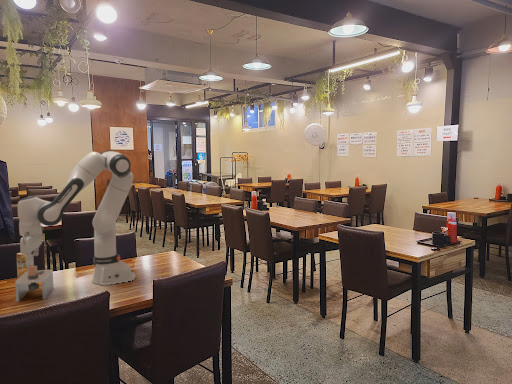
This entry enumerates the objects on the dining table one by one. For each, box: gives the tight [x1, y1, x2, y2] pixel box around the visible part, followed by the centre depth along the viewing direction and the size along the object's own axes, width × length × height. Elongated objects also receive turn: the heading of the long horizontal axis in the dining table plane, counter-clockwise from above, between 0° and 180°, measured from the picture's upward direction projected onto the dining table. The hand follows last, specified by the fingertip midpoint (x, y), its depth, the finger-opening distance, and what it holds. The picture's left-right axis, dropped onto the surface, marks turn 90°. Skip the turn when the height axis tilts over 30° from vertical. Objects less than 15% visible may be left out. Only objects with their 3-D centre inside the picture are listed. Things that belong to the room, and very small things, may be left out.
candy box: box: [16, 252, 35, 279], centre depth 193 cm, size 9×4×15 cm, turn 66°
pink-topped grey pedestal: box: [28, 265, 40, 291], centre depth 172 cm, size 4×4×11 cm
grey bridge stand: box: [14, 269, 54, 303], centre depth 174 cm, size 12×15×10 cm
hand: (33, 258), depth 171 cm, fingers open, 8 cm apart
